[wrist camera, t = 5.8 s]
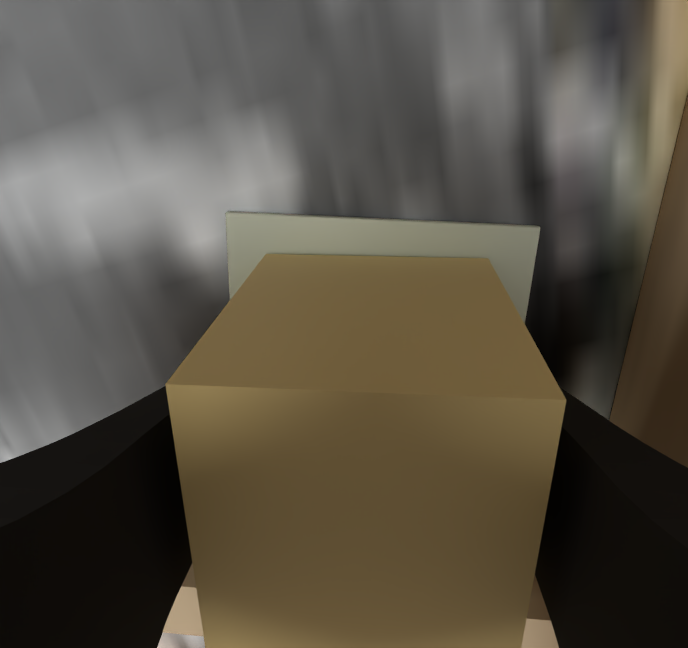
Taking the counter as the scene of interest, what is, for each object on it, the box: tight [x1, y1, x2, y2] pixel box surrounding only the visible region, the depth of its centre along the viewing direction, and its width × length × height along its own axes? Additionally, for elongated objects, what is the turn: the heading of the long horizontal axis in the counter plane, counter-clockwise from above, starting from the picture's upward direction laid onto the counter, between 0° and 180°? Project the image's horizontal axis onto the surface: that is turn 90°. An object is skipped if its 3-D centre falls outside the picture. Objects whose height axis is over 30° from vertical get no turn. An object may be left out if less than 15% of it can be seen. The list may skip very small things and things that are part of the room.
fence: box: [163, 97, 688, 648], centre depth 12 cm, size 16×12×4 cm
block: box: [165, 254, 566, 648], centre depth 11 cm, size 5×5×6 cm
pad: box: [225, 211, 541, 324], centre depth 14 cm, size 7×7×1 cm
